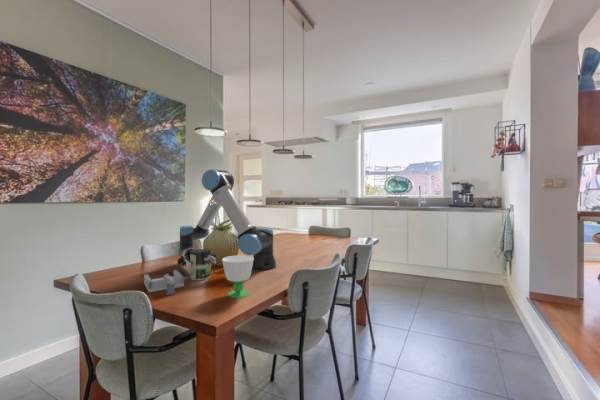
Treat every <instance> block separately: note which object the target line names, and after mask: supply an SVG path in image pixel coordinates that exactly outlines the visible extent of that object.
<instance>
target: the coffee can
mask: <svg viewBox="0 0 600 400" xmlns="http://www.w3.org/2000/svg"><path fill="white" fill-rule="evenodd" d="M211 251H212V250H211V249H207V248H199V249H197V248H196V249H195V250H192V251H190V263H189V271H190V278H189V280H192V281H205V280H208V279H210V278H211V263H212V262H211V254H212V253H211Z"/></svg>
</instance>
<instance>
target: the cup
mask: <svg viewBox="0 0 600 400" xmlns="http://www.w3.org/2000/svg"><path fill="white" fill-rule="evenodd" d="M253 260H254V258H253V256H252V255H246V254H238V255H237V254H236V255H229V256H225V257H223V258H222V260H221V262H222V266H223V271H224V275H225V278H226V280H227V281H229V282H231V283H233V285H232V289H233V291H230V292H228V294H227V296H228V297H229V298H233V299H239V298H240V297H241V298H245V297H247V296H248V295H249V294H250V293H249V291H247V290H243V289H244V283H243V282H245V281H247V280H248V279H250V277H251V274H252V270H253V268H252V265H253ZM244 296H245V297H244Z"/></svg>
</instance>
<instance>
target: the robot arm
mask: <svg viewBox="0 0 600 400" xmlns="http://www.w3.org/2000/svg"><path fill="white" fill-rule="evenodd" d="M201 177H202V178H201V185H202V187H203V188H204V189H205V190H207V191H210V194H211V197H210V200H209V201H208V203H207V205H206V207H205V209H204V211H203V213H202V215H201V216H200V219H199V221H198V223H197V224H196V226H195V227H193V226H192V225H183V226H180V227H179V248H178V250H177V252H178V255H179V256H180V257H179V258H178V259H177V265H178V266H180V265H181V267H184V266H186V267H187V268H190V251H192V250H196V249H194V241H197V240H201V239H205V238H206V236H207V237H208V236H209V235H210V227H211V225H212V223H213V222H214V219H215V218H216V216H217V214H218V212H219V211H220V209H221V206H222V208H223V210H224V211H225V213H226V215H227V217H228V219H229V220H230V222H231V224H232V225H233V227H234V230H235V231H236V232H237V234H236V237H237V239H238V240H237V241H238V248H239V250H240V251H241V253H242V254H243V255H247V256H252V257H253V258H254V260H253V265H252V270H258V271H259V270H272V269H274V268H276V267H277V261H276V259H275V258H276V257H275V255H274V235H275V234H274V230H273V229H272V228H261V227H260V228H257V227H256V225H252V224H251V222H250V220H249V219H248V217H247V215H246V213H245V211H244V210H243V209H242V207H241V205H240V204H239V202H238V201H237V198H236V197H235V195H234V193H233V192H232V190H233V187H234V185H235V179H234V176H233V174H232V173H231V172H230V171H228V170H222V169H216V168H215V169H211V168H210V169H208V170H206V171H205V172H204V173H203V175H202V176H201ZM213 199H214V200H216V201H217V202H218V203H219V204H218V206H217V205H216V204H215V203H214V204H213V205H210V201H211V200H213ZM208 221H209V222H208ZM210 224H211V225H210ZM211 263H213V264H217V254H213V253H211Z"/></svg>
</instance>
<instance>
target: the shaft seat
mask: <svg viewBox="0 0 600 400" xmlns="http://www.w3.org/2000/svg"><path fill="white" fill-rule="evenodd" d="M143 285H144V286H145V288H146V290H147V291H148V293H153V292H159V291H160V292H161V291H166V295H167V296H172V295H175V294H176V289H177V288H181V287H185V277H184V275H182V274H181V273H180V271H178V270H177V269H175V270H173V276H170V274H169V273H165V274H164V275H163V277H159V278H153V279H151V277H150V276H149V274H143Z"/></svg>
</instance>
